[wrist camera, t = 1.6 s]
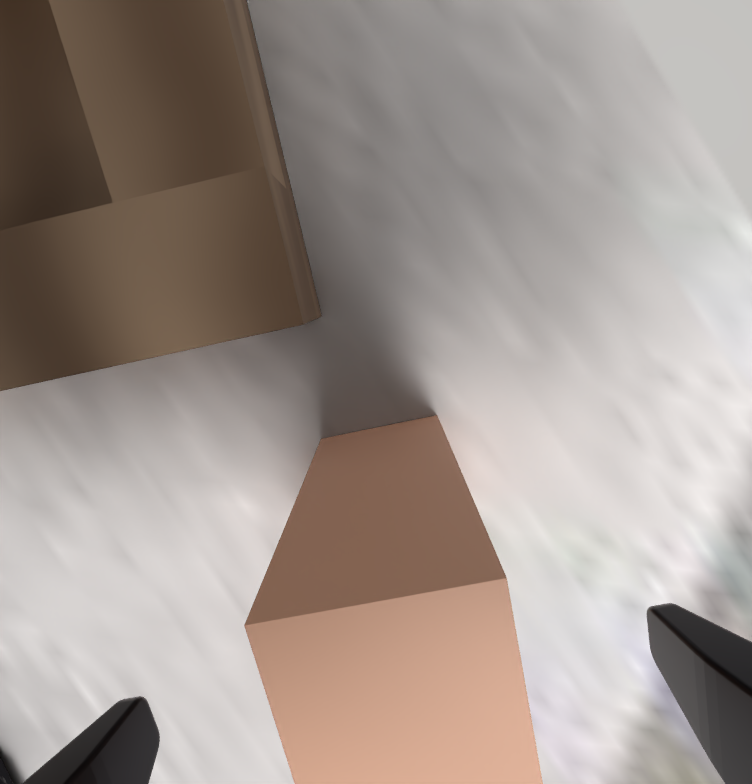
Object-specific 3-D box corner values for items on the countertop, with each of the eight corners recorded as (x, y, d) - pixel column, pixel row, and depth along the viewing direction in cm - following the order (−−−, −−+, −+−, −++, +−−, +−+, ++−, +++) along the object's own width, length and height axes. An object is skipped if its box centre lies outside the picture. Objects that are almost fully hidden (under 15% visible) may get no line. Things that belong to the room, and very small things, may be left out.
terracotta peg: (347, 543, 17) (308, 826, 8) (321, 438, 16) (244, 625, 7) (457, 522, 16) (543, 790, 8) (437, 414, 16) (506, 578, 7)
